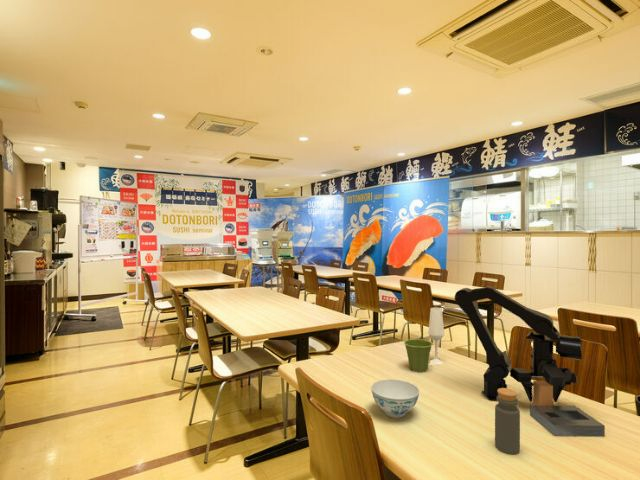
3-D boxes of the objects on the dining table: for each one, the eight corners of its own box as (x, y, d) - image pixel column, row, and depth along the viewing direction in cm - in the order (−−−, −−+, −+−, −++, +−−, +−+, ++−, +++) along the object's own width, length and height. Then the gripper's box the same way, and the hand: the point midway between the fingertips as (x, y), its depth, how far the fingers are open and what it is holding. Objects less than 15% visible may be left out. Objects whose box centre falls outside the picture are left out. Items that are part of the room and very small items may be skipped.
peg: (540, 410, 116) (540, 385, 116) (533, 404, 120) (533, 380, 120) (552, 410, 116) (552, 385, 116) (545, 404, 120) (545, 380, 120)
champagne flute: (444, 366, 156) (444, 310, 156) (427, 364, 158) (428, 309, 158) (444, 361, 162) (444, 307, 162) (428, 359, 165) (428, 307, 164)
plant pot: (410, 362, 161) (410, 337, 161) (436, 368, 154) (436, 341, 154) (399, 370, 151) (399, 343, 151) (427, 376, 144) (427, 348, 144)
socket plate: (554, 435, 101) (554, 425, 101) (529, 414, 113) (529, 405, 113) (604, 436, 101) (604, 425, 101) (575, 415, 113) (575, 405, 113)
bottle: (490, 442, 98) (490, 387, 98) (511, 441, 99) (511, 386, 98) (503, 455, 92) (503, 396, 92) (524, 454, 93) (525, 395, 93)
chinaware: (420, 405, 119) (420, 382, 119) (417, 428, 105) (417, 402, 105) (375, 399, 124) (375, 376, 124) (366, 420, 110) (366, 394, 110)
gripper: (527, 362, 110) (527, 413, 110) (589, 362, 110) (589, 413, 110) (509, 350, 121) (509, 396, 121) (565, 350, 121) (565, 397, 121)
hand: (542, 401), depth 118 cm, fingers open, 8 cm apart
